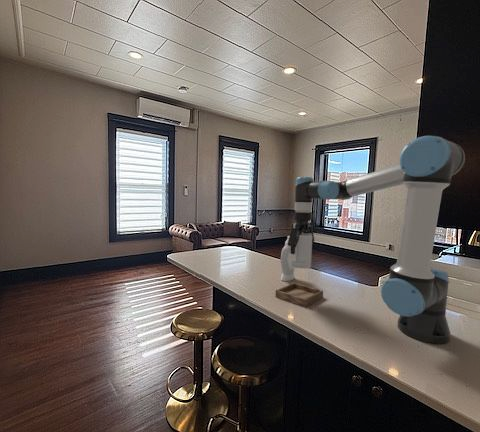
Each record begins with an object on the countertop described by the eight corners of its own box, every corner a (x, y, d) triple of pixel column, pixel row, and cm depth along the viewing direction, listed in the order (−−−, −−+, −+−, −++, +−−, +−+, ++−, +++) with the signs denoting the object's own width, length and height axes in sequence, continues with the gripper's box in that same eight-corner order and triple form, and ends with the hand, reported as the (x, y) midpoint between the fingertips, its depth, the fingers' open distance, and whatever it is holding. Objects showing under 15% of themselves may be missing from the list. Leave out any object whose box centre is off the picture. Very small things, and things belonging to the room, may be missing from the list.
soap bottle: (287, 284, 139) (289, 238, 137) (276, 280, 145) (278, 236, 143) (302, 279, 148) (304, 236, 146) (291, 276, 153) (293, 234, 151)
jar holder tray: (322, 297, 122) (323, 291, 122) (305, 307, 111) (305, 300, 110) (293, 288, 133) (294, 282, 132) (275, 296, 121) (275, 290, 121)
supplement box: (311, 269, 115) (312, 235, 114) (290, 267, 117) (291, 234, 116) (310, 264, 124) (311, 232, 123) (290, 262, 126) (292, 231, 125)
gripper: (308, 210, 130) (306, 253, 132) (280, 212, 112) (278, 261, 114) (323, 211, 125) (320, 256, 126) (295, 213, 107) (293, 265, 109)
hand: (300, 258), depth 120 cm, fingers closed on supplement box, 12 cm apart
